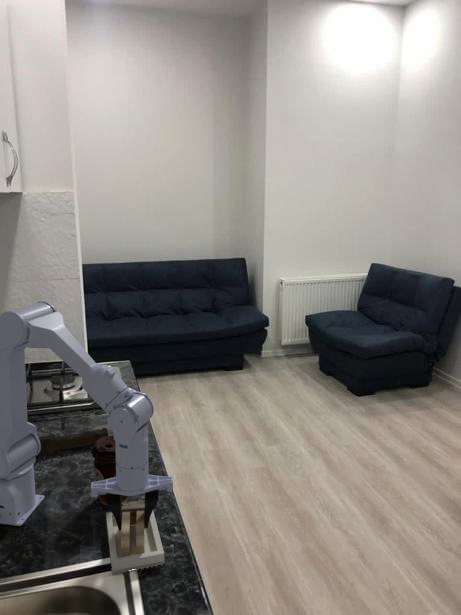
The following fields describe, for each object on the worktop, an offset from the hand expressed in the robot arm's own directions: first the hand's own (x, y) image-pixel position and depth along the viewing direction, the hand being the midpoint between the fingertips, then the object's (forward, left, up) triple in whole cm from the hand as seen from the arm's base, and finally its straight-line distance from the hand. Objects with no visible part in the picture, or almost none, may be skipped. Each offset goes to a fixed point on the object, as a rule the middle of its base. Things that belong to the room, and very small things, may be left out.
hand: (133, 525), depth 94 cm
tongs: (0, 0, -2) cm, 2 cm away
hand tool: (+29, +26, -4) cm, 40 cm away
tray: (0, 0, -4) cm, 4 cm away
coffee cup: (+12, +9, -4) cm, 16 cm away
